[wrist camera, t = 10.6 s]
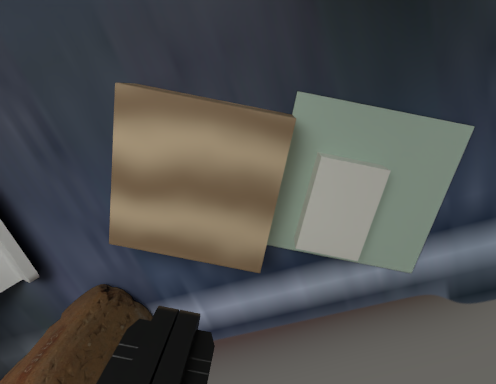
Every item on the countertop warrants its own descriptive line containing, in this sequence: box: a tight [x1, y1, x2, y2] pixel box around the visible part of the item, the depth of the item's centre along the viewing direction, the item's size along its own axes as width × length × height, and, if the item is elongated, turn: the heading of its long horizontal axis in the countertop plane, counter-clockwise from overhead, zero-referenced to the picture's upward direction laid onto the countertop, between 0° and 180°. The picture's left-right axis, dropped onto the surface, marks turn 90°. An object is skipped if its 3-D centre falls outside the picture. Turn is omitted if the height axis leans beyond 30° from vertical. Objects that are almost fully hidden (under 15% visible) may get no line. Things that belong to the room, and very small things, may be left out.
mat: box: [267, 91, 474, 273], centre depth 28 cm, size 15×16×1 cm
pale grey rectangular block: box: [294, 152, 391, 261], centre depth 28 cm, size 9×6×2 cm, turn 169°
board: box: [109, 83, 296, 273], centre depth 27 cm, size 14×14×4 cm
